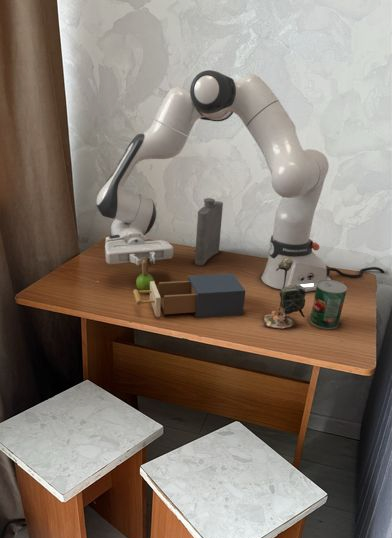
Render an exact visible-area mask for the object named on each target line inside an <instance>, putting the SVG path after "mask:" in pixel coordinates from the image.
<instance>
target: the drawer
mask: <svg viewBox="0 0 392 538" xmlns="http://www.w3.org/2000/svg"><path fill="white" fill-rule="evenodd" d="M157 287H158V288H157ZM132 292H133V297H134V299H135V303H136V305H137V306H141V305H142V304H151V307H152V309H153V312H154V316H155V317H156V318H159V317H161V309H162V312H163V314H164V315H175V314H188V313H189V314H190V313H194V312H196V304H197V293H196V292H195V290H194V288H193V286H192V284H191V282H190V281H188V280H177V281H176V280H175V281H160V282H158V286H157V285H156V282H155V280H154V281H150V290H143V291H140V290H139V289H138V288H137V289H136V288H135V289H133V291H132ZM141 294H149V299H146V300H145V299H144V300H142V298H141V296H140V295H141Z"/></svg>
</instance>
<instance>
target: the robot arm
mask: <svg viewBox="0 0 392 538" xmlns="http://www.w3.org/2000/svg"><path fill="white" fill-rule="evenodd" d="M233 114H235V115H237V116H238V118H239V119H240V120H241V122H242V123H243V125H244V126H245V127H246V129H247V130H248V132H249V134H250V135H251V137H252V138H253V140H254V141H255V143H256V144H257V146H258V148H259V149H260V151H261V153H262V155H263V157H264V159H265V162H266V165H267V167H268V170H269V173H270V175H271V176H270V177H271V178H270V179H271V180H270V181H271V186H272V189H273V191H274V192H275V194H277V195H278V196H280V197H281V199H280V202H279V204H278V206H277V208H276V212H275V216H274V225H273V230H272V235H271V236H270V241H269V247H268V258H267V262H266V265H265V268H264V271H263V273H262V275H261V278H260V279H261V281H262V282H263V283H264V284H265V285H266V286H269V287H271V288H273V289H277V290H280V291H281V290H282V289H283V285H284V277H285V270H282V269H279V270H278V271H276V269H277V268H278V267H279V266H278V264H279V262H280V261H281V260H282V258H283V256H287V257H288V258H290V259H291V260H293V264H292V266H291V268H290V269H289V270H288V271H287V276H286V282H285V286H284V288H285V287H286V286H289V285H297V284H300V285H301V286H303V287H304V289H305V288H306V289H305V293H308V292H312V291H316V287H317V283H318V282H319V281H321V280H332V279H331V278H330V273H331V272H335V273H337V274H338V275H341V276H343V277H347V278H361V277H362V276H363V272H367V271H374V270H375V271H378V272H380V273H381V274H385V270H384V269H382V268H381V267H379V266H378V267H377V266H371V267H364V268H361V269H360V270H359V273H358V274H350V273H346V272H342V271H340V270H339V269H338V268H334V267H330V266H328V265H327V264H326V263H325V262H324V261H323V260H322V258H320V257H319V256H318V255H317V254H316V253H315V252H314V251H319V250H320V247H321V246H320V244H318V243H317V242H314V241H313V240H312V239H310V235H311V231H312V225H313V221H314V217H315V212H316V209H317V206H318V204H319V200H320V198H321V194H322V190H323V187H324V183H325V180H326V177H327V175H328V172H329V161H328V158H327V156H326V155H325V154H324V153H323V152H321V151H319V150H316V149H303V147H302V145H301V142H300V140H299V137H298V135H297V132H296V131H297V130H296V124H295V123H294V122H293V120H292V118H291V117H290V116H289V114H288V112H287V111H286V109H285V108H284V106H283V105H282V103H281V101H280V99H278V97H277V95H276V94H275V93H274V92H273V90H272V89H271V88H270V86H268V84H266V82H265V81H264V80H263V79H262V78H261V77H260V76H259V75H256V74H248V75H245V76H243V77H242V78H240V79H239V80H237V81H236V82H235V80H234V79H233V78H232V77H230V76H228V75H225V74H223V73H221V72H220V71H217V70H211V69H209V70H203V71H201V72H199V73H198V74H197V75H195V76H194V78H193V80H192V81H191V84H190V88H189V89H188V88H185V87H182V86H175V87H172V88H171V89H170V90H169V91H168V92H167V93H166V95H165V96H164V98H163V100H162V102H161V103H160V106H159V107H158V110H157V111H156V114H155V116H154V119H153V121H152V122H151V125H150V126H149V127H148V129H147V130H146V131H144V132H143V133H138V134H136V135H135V136H134V137H133V139H132V140H131V141H130V142H129V144H128V145H127V147H126V149H125V151H123V153H122V155H121V157H120V159H119V161H118V162H117V164H116V166H115V167H114V169H113V170H112V173H110V176H109V177H108V178H107V180H106V181H105V183H104V184H103V186H102V187H101V189H100V190H99V192H98V194H97V196H96V200H95V205H96V208H97V210H98V212H99V213H100V214H101V216H102V217H104V218H108V219H112V220H113V222H112V223H111V226H110V233H111V235H110V236H106V237H105V241H104V244H105V245H104V256H105V257H104V258H105V262H106V263H107V264H108V265H118V264H129V263H131V264H134V265H136V266H142V257H143V258H144V257H147V258H148V263H149V265H155V264H156V261H162V260H170V259H172V258H173V257H174V246H173V245H172V244H170V243H169V242H168V241H166V240H163V239H157V240H148V238H147V237H146V235H147V234H148V233H149V232H150V231H151V229H152V228H153V226H154V225H155V222H156V219H157V208H156V204H155V202H154V200H153V199H152V198H150V197H147V196H145V195H143V194H141V193H137V192H134V191H132V190H130V189H127V188H125V187H124V186H125V184H126V182H127V180H128V179H129V178H130V176H131V174H132V172H133V170H134V169H135V167H136V166H137V164H138V163H140V162H142V161H145V160H167V159H172V158H175V157H176V156H178V155H179V154H181V153H182V151H183V149H184V148H185V145H186V144H187V142H188V139H189V136H190V134H191V132H192V129H193V127H194V125H195V123H196V122H197V121H198V120H199V119H200V120H203V121H210V122H224V121H226V120H228V119H229V118H231V116H232V115H233ZM313 250H314V251H313Z"/></svg>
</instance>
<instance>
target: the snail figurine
mask: <svg viewBox="0 0 392 538" xmlns="http://www.w3.org/2000/svg"><path fill="white" fill-rule="evenodd" d="M149 267H150V264H149V263H148V258H147V257H144V258H143V257H142V265H141V273H140V274H139V275H138V276H137V277H136V280H135V285H136V288H137V290H138V291H143V290H150V281H154V282H155V279H154V277H153V276H152V275H151V274H150V273H148V272H149Z"/></svg>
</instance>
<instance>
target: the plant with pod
mask: <svg viewBox="0 0 392 538" xmlns="http://www.w3.org/2000/svg"><path fill="white" fill-rule="evenodd" d="M292 264H293V260H291V259H290V258H288V257H287V256H283V258H282V260H281V261H280V262H279V264H278V266H279V267H278V268H277V269H276V271H278V270H279V269H282V270H285V277H284V285H283V289H282V290H281V289H280V292H279V297H280V302H279V308H278V310H277V311H276V310H272V311H271V313H269V314H266V315H265V314H264V315H263V316H262V318H263V325H264V326H265V327H270V328H277V329H281V330H283V329H285V328H291V327H295V324H294V321H293V318H292V317H291V316H289V315H291V314H293V313H297V312H299V314H300V316H302V318H304V319H305V316H306V315H305V314H304V312H303V309H304V308H305V306H306V298H305V297H306V292H305V289H306V288H305V289H304V287H303V286H301V285H300V284H297V285H289V286H286V287H285V288H284V286H285V282H286V276H287V271H288V270H289V269H290V268H291V266H292ZM281 309H282V311H283V312H281Z"/></svg>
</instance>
